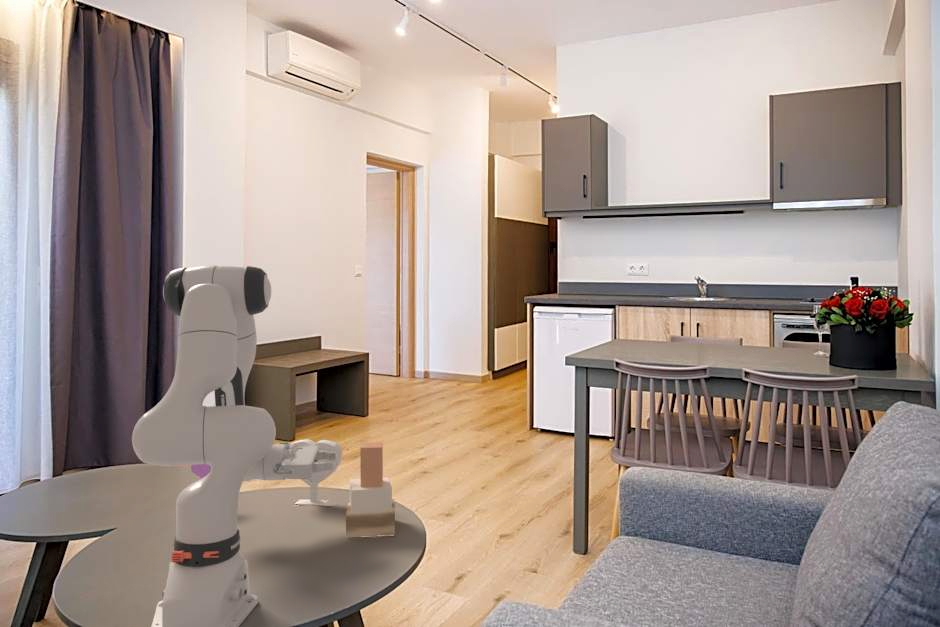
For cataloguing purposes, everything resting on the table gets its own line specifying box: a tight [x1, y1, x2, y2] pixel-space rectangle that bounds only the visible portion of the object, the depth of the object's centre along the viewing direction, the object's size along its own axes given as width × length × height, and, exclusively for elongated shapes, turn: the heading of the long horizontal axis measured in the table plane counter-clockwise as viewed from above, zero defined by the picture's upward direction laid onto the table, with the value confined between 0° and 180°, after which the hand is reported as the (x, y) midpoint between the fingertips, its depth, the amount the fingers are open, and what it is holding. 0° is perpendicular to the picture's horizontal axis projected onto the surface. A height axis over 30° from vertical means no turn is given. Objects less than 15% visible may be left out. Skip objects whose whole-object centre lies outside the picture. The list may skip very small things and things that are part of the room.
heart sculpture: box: [290, 438, 343, 504], centre depth 198 cm, size 16×5×18 cm, turn 83°
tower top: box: [349, 476, 393, 514], centre depth 178 cm, size 10×10×6 cm
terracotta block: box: [359, 441, 384, 487], centre depth 177 cm, size 5×5×10 cm
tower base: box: [345, 498, 396, 538], centre depth 177 cm, size 12×12×6 cm
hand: (334, 460), depth 175 cm, fingers open, 8 cm apart
